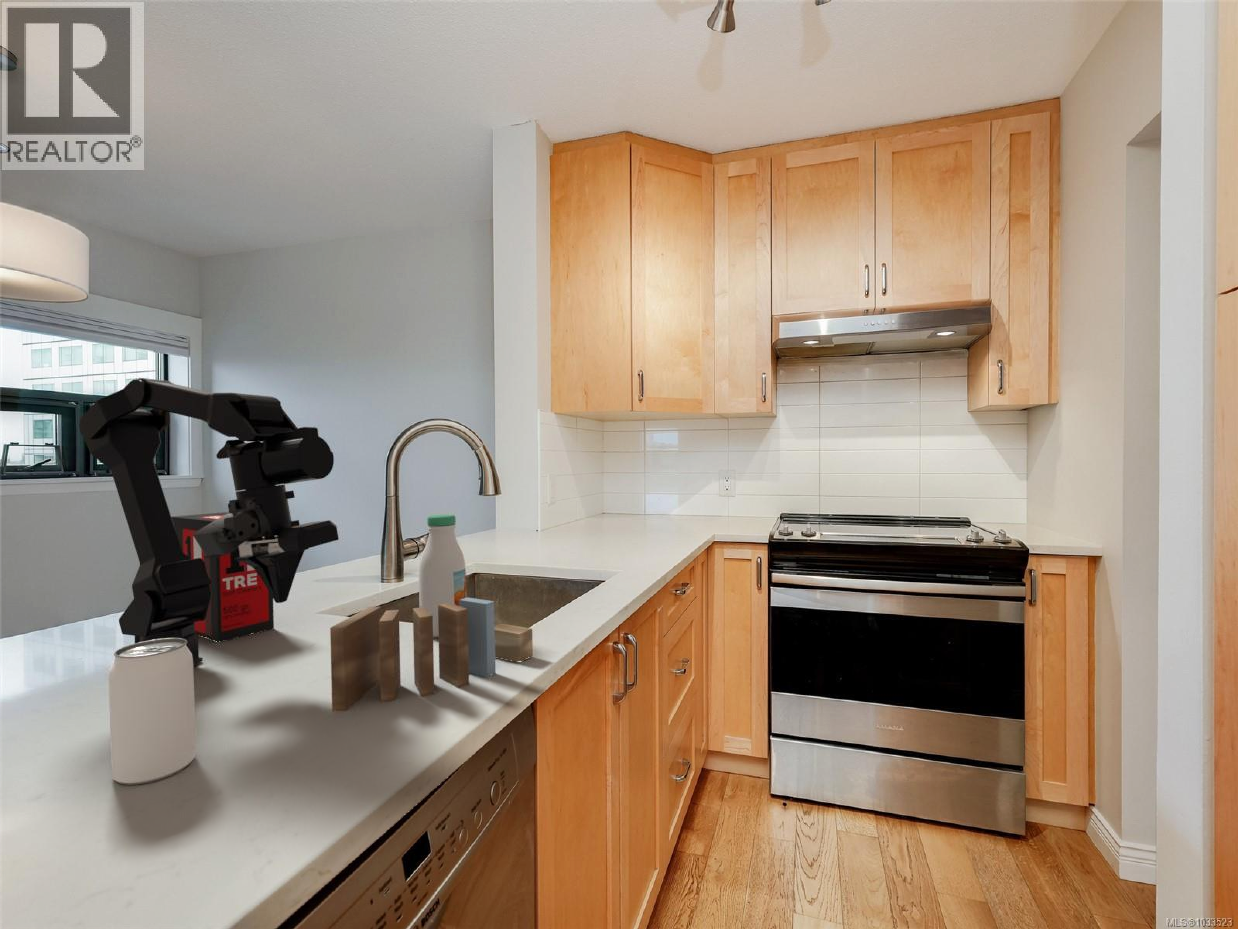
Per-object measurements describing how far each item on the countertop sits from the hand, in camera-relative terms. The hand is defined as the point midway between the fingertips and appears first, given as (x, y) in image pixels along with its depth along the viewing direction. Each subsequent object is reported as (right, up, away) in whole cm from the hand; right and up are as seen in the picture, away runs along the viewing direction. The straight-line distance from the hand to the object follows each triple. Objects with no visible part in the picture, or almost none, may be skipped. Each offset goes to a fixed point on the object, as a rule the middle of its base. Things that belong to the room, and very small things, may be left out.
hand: (281, 602), depth 80 cm
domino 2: (+16, -11, -4) cm, 20 cm away
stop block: (+29, -10, +9) cm, 32 cm away
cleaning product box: (-25, -11, +26) cm, 37 cm away
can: (0, -11, -22) cm, 25 cm away
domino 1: (+12, -11, -5) cm, 17 cm away
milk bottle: (+15, -10, +22) cm, 29 cm away
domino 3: (+20, -11, -3) cm, 23 cm away
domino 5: (+26, -10, +3) cm, 28 cm away
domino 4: (+23, -10, -1) cm, 26 cm away
